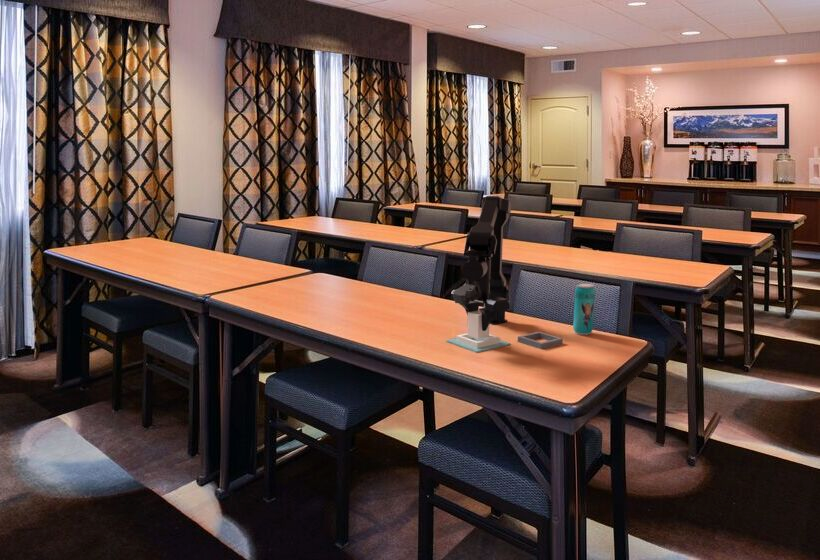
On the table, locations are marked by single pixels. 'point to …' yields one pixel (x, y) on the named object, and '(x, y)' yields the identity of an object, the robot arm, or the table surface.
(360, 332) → the table surface
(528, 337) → the socket
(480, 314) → the plug block
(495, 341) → the socket
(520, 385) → the table surface
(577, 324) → the beverage can
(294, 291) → the table surface
